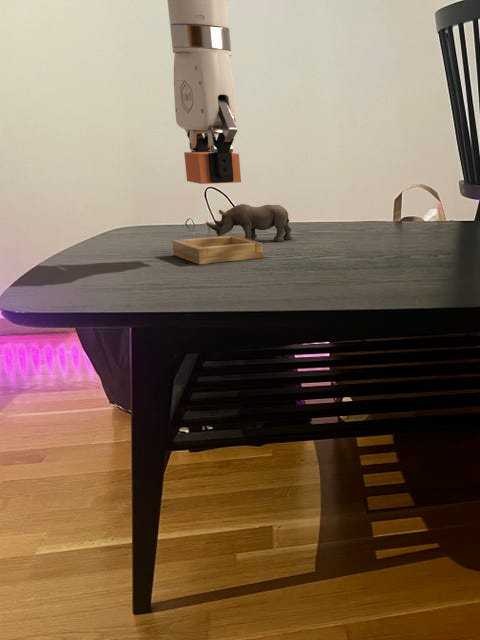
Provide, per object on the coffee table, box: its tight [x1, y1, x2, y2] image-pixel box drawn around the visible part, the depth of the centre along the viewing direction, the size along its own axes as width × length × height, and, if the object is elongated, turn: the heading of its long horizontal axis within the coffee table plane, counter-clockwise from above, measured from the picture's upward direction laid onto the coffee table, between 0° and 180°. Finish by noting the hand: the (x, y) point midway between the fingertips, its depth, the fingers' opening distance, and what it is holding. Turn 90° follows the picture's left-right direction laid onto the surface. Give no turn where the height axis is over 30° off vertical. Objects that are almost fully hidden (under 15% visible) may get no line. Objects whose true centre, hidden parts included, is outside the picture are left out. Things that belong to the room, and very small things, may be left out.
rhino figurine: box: [205, 203, 293, 242], centre depth 118 cm, size 4×14×6 cm, turn 107°
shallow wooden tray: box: [171, 234, 264, 265], centre depth 104 cm, size 10×9×2 cm
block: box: [183, 151, 242, 185], centre depth 101 cm, size 6×5×4 cm
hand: (213, 179), depth 101 cm, fingers closed on block, 4 cm apart
